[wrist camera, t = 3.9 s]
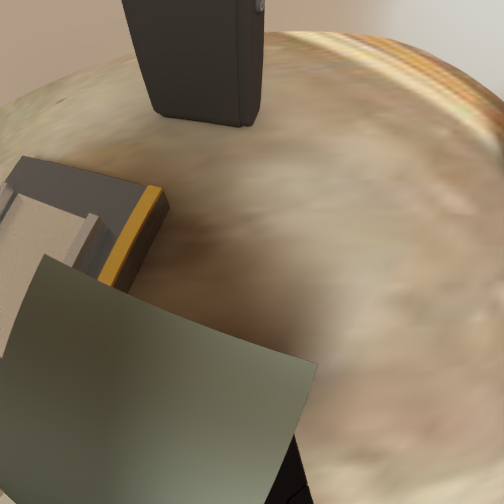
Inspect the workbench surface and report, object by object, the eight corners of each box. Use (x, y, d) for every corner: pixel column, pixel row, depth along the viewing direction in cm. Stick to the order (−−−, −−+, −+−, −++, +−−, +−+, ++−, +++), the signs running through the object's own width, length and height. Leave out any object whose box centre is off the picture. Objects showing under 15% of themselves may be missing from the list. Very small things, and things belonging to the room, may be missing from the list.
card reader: (266, 105, 24) (272, -58, 11) (253, 135, 23) (254, -53, 9) (172, 93, 25) (143, -50, 12) (152, 120, 24) (109, -36, 10)
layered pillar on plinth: (250, 474, 13) (244, 638, 2) (135, 428, 14) (-46, 468, 3) (292, 363, 16) (395, 316, 4) (176, 322, 17) (40, 197, 5)
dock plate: (69, 450, 13) (38, 458, 10) (-48, 338, 16) (-75, 329, 12) (170, 207, 20) (156, 176, 17) (32, 168, 22) (14, 145, 19)
